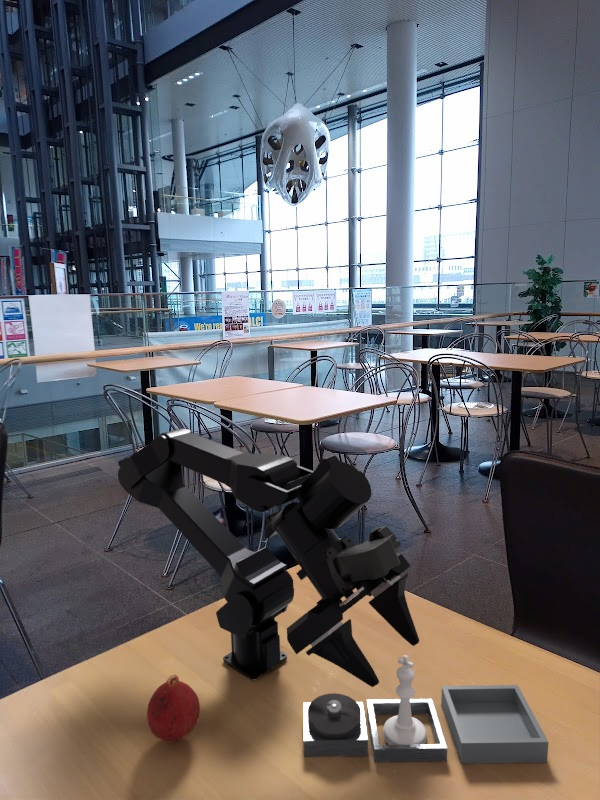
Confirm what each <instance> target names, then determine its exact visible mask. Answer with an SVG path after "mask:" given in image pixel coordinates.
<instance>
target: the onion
mask: <svg viewBox="0 0 600 800" xmlns="http://www.w3.org/2000/svg"><path fill="white" fill-rule="evenodd" d="M179 679H180V678H179V676H178V675H176V674H171V675H170V676H169V677H168V678H167V680H166V682H163V683H162V684H160V685H159V686H158V687H157V688H156V690H155V691H154V692H153V694H152V695H151V697H150V699H149V701H148V704H147V711H146V720H147V724H148V727H149V730H150V731H151V733H152V734H153V735H154V737H156V738H157V739H159V740H161V741H164V742H169V743H171V742H172V743H173V742H178V741H180V740H183V738H185V737H187V736H188V735H189V734H190V733H191V732H192V731H193V730H194V728H195V727H196V725H197V723H198V721H199V718H200V714H201V707H200V700H199V695H197V693H196V691H195V690H194V689H193V688H192V687H191V686H190V685H189V684H187V683H185V682H183V681H180V680H179Z"/></svg>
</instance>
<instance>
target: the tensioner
mask: <svg viewBox="0 0 600 800" xmlns="http://www.w3.org/2000/svg"><path fill="white" fill-rule="evenodd" d="M400 699H401V698H400ZM400 699H398V698H395V699H394V698H393V699H391V698H390V699H386V698H385V699H384V698H383V699H382V698H381V699H366V714H367V722H368V728H369V729H368V730H369V733H370V740H371V747H372V749H371V750H372V754H373V759H374V760H373V762H374V763H403V762H404V763H405V762H406V763H408V762H411V763H413V762H414V763H415V762H416V763H417V762H419V763H420V762H427V763H428V762H447V761H448V745H447V742H446V740H445V736H444V733H443V730H442V727H441V723H440V721H439V717H438V713H437V710H436V708H435V705H434V701H433V699H432V698H410V707H411V715H427V717H428V720H429V724H430V727H431V730H432V734H433V737H434V740H435V743H433V744H432V743H427V744H426V743H425V744H413V745H389V744H380V740H379V734H378V729H377V727H378V726H377V723H376V716H383V715H384V716H391V715H392V716H393V715H394V716H397V715H398V713H399V707H400ZM368 730H367V725H366V716H365V709H364V702H363V701H356V700H354V698H352V697H350V696H349V695H345V694H343V693H325V694H322V695H319V696H317V697H315V698H314V699H312V701H311V702H303V757H304V758H307V757H308V758H309V757H315V758H317V757H322V758H323V757H369V737H368Z"/></svg>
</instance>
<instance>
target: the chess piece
mask: <svg viewBox="0 0 600 800" xmlns="http://www.w3.org/2000/svg"><path fill="white" fill-rule="evenodd" d="M397 664H399V665H402V666H400V667H398V668H397V669H396V676H397V679H398V682H399V684H398V685H397V686H396V688H395V694H396V695H397V696H398V697H399V698H400V707H399V713H398V715H394V716H393V715H392V717H389V718H388V719H387V720H386V721H385V723H384V724H383V729H382V736H383V739H384V740H385V742H386V743H387V745H413V744H426V743H427V739H428V738H427V737H428V736H427V731H426V730H427V729H426V727H425V725H424V724H423V723H422V722H421V721H420V720H419V719H417V718H416V717H413V716H412V715H413V714H411V707H410V699H413V697H414V696H415V695H416V691H415V688H414V687H413V686H412V683H413V680H414V679H415V674H416V673H415V670H414V669H413V668H414V662H412V661H409V655H408V654H404V655H403V656H402V657H399V658H398V659H397Z"/></svg>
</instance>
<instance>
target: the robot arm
mask: <svg viewBox="0 0 600 800" xmlns="http://www.w3.org/2000/svg"><path fill="white" fill-rule="evenodd" d="M183 467H184V468H186V469H188V470H191V471H193V472H196V473H198V474H200V475H203V476H205V477H207V478H209V479H212V480H214V481H216V482H219V483H221V484H223V485H225V486H226V487H228V488H230V491H231V493H232V495H233V498H234V499H236V500H237V501H239V502H240V503H242V504H243V505H245V506H246V507H248V508H249V509H251V510H252V511H253V512H257V513H263V512H266V511H269V510H272V509H273V508H276V507H280V506H283V505H284V504H286V503H288V504H286V505H285V506H284V508H282V509H281V511H274V512H272V513H270V514H268V515H267V516H265V520H266V523H265V527H264V532H263V533H264V534H263V536H264V538H265V539H270V538H272V537H273V536H275V535H278V536H279V538H280V539H281V540H282V542H283V544H284V545H285V546H286V548H287V549H288V551H289V553H291V555H292V556H293V558H294V560H295V561H296V563H297V564H298V566H299V567H300V569H299V570H298V571H297V572H296V575H297V577H298V578H299V580H300V581H303V580H304V579H305V578H308V580H309V582H311V585H313V587H314V588H315V590H316V592H317V593H318V594H319V596H320V597H321V598H320V599H319V600H318V601H317V602H316V605H315V606H314V607H312V608H311V609H309V610H308V611H307V612H305V613H304V614H303V615H302V616H301V617H299V618H298V619H297V620H295V621H294V622H292V624H290V625H289V626H288V627H287V628H286V639H287V642H288V644H289V645H290V647H291V649H292V651H294V654H295V655H298V654H299V653H301V652H302V651H303V650H304V649H306V648H307V647H309V646H310V645H311V647H310V648H308V649H307V650H306V651H305V653H306V655H307V656H312V655H313V654H314V655H316V656H318V657H320V658H321V659H324V660H326V661H328V662H330V663H332V664H334V665H336V666H337V667H339V668H340V669H342V670H344V671H346V672H347V673H349V674H351V676H354V677H355V678H357V679H358V680H360V681H362V682H363V683H364V684H366V685H368V686H369V687H371V688H374V687H376V686H377V685H378V684H379V683H380V679H379V678H378V676H377V674H376V672H375V670H374V668H373V667H372V665H371V663H370V662H369V661H368V659H367V657H366V656H365V654H364V653H363V651H362V650H361V647H360V646H359V645H358V643H357V641H356V640H355V639H354V638H355V637H354V636H353V626H352V619H351V618H349V619H347V620H346V621H344V622H343V620H344V613H346V611H348V610H349V609H350V608H352V607H353V606H354V605H356V604H358V602H360V601H361V600H362V599H363V598H365V597H366V596H368V597H371V596H373V598H372V599H371V600H369V601H368V604H369V605H370V606H371V608H373V609H374V610H375V612H376V613H378V614H379V615H380V616H381V617H382V618H383V619H384V620H385V621H386V622H387V623H388V624H389V625H390V626H391V627H392V629H394V631H395V632H397V634H399V635H400V636H401V637H402V639H404V640H405V641H406V642H407V643H408V644H410V645H411V646H412V647H415V646H417V644H419V643H420V638H419V635H418V632H417V629H416V626H415V623H414V621H413V617H412V615H411V613H410V612H411V611H410V609H409V606H408V603H407V598H406V593H405V591H406V583H407V580H408V578H409V573H408V572H407V573H405V574H404V575H402V576H400V575H401V574H403V573H404V572H405V571H406V570H408V569H409V568H410V567H411V564H410V563H409V561H408V560H407V559H406V557H404V555H403V554H402V553H400V552H398V551H400V547H402V546H401V545H402V543H401V541H400V540H398V538H397V536H396V535H395V534H394V533H393V531H392V530H391V529H390V528H389V527H388V526H387V525H384V526H379V527H377V528H375V529H374V530H372V531H370V532H369V536H368V537H369V539H368V540H366V541H364V542H363V543H359V544H355V543H354V542H353V540H352V539H351V538H350V537H348V536H346V535H345V536H344V537H342V538H339V536H338V535H337V533H336V532H335V531H334V529H335V530H336V529H338V528H340V527H341V526H343V524H344V523H346V521H349V519H350V518H351V517H352V516H354V514H355V513H357V512H358V511H359V510H360V509H362V507H363V506H364V505H366V504H367V503H368V502H369V501H370V499H371V497H372V487H371V484H370V482H369V480H368V478H367V477H366V475H365V474H364V472H363V471H361V470H359V469H357V468H356V467H355V466H354V465H352V464H349V463H347V462H344V461H340V460H339V458H338V456H337V455H336V454H332V455H329V456H327V457H324V458H323V459H322V460H321V461H320V462H319V463H318V465H317V467H316V468H315V470H312V469H308V468H305V467H303V466H301V465H298V463H297V462H296V461H295V460H294V459H293V458H291V457H289V456H286V455H280V454H274V453H249V452H247V453H246V452H244V451H240V450H237V449H235V448H232V447H230V446H227V445H224V444H222V443H219V442H217V441H214V440H211V439H208V438H206V437H203V436H201V435H198V434H195V433H193V431H191V430H190V429H188V428H182V427H181V428H176V429H172V430H169V431H165V432H162V433H159V434H158V436H156V437H155V438H153V440H151V442H149V443H148V444H147V445H145V446H144V447H142V448H140V449H138V451H136V452H135V453H133V454H132V455H130V456H128V457H124V459H122V461H121V463H120V467H119V468H118V471H117V479H118V482H119V484H120V486H121V487H122V488H123V490H124V491H125V492H126V493H128V494H129V495H130V496H131V497H132V498H133V499H134V500H136V501H137V502H138V503H141V504H144V505H147V506H151V507H153V508H157V509H159V510H160V511H161V512H162V513H163V514H164V516H166V517H167V519H168V520H169V521H170V522H171V523H172V524H173V525H174V527H175V528H176V529H177V530H178V531H179V532H180V534H182V535H183V536H184V538H185V539H186V540H187V541H188V542H189V543H190V544H191V546H192V547H194V549H195V550H196V551H197V552H198V553H199V554H200V555H201V556H202V557H203V559H204V560H206V562H207V563H208V564H209V566H211V567H212V568H213V569H214V571H215V572H216V573H217V574H218V575H219V577H220V581H221V586H222V587H221V588H222V591H223V592H222V593H223V597H224V600H225V601H226V603H225V604H224V605H222V606H221V607H220V608H219V609H218V610H217V611H216V612H215V615H216V618H217V622H218V625H219V627H220V628H221V629H223V630H224V631H227V632H229V633H230V641H231V642H230V643H231V647H230V648H231V652H229V653H227V654H226V655H224V656H223V657H222V658H223V662H224V663H225V664H227V665H228V666H230V667H231V668H233V669H235V670H236V671H237V672H239V673H240V674H242V675H243V676H245V677H247V678H249V679H250V680H252V681H255V680H257V679H260V677H261V676H264V675H265V674H266V673H268V672H269V671H271V670H273V669H274V668H276V667H277V666H279V665H280V664H282V663H283V662H285V661H286V660H287V659H288V654H287V653H286V652H285V653H284V651H281V643H280V642H281V641H280V640H281V639H280V635H279V625H278V624H279V623H278V621H276V619H275V618H276V617H278V616H280V615H281V614H282V613H283V614H284V613H286V611H287V610H288V609H287V608H288V606H289V605H290V604H291V603H292V602H293V600H294V596H295V588H294V579H293V577H292V575H291V573H289V571H288V570H287V569H286V568H287V567H288V566H287V565H288V564H285V563H284V562H282V561H280V560H279V559H278V558H277V557H276V555H275V554H274V553H273V551H272V550H271V549H269V548H267V547H266V546H265V547H261V549H259V550H257V551H252V550H250V549H248V548H247V547H245V546H244V545H243V544H242V543H241V542H240V541H239V540H238V539H237V537H236V536H235V535H233V533H232V532H231V531H230V530H229V529H228V528H227V527H226V526H225V525H224V524H223V523H222V522H221V521H220V520H219V519H218V518H217V517H216V516H215V515H214V514H213V513H212V512H211V511H210V510H209V508H207V506H205V504H204V503H202V501H201V500H200V499H199V498H198V497H197V496H196V495H195V494H194V493H193V492H192V491H191V490H190V489H189V488H188V487H187V486H186V484H185V479H184V478H185V477H184V472H183V471H184V470H183ZM296 499H298V501H296V502H291V501H293V500H296ZM289 502H290V503H289ZM355 589H356V591H355V592H354V590H355ZM342 598H345V599H344V600H342Z"/></svg>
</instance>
